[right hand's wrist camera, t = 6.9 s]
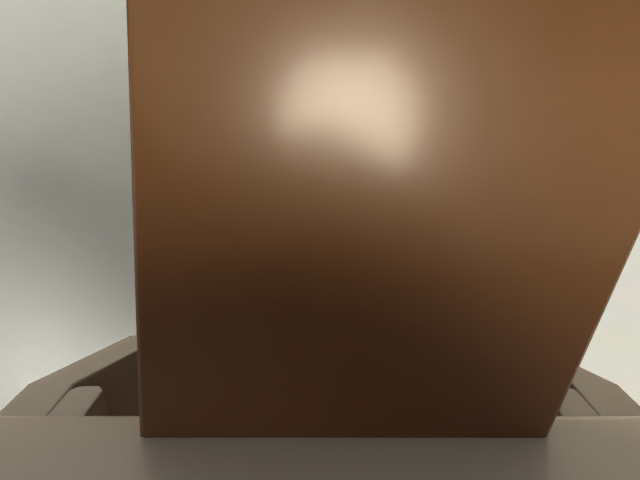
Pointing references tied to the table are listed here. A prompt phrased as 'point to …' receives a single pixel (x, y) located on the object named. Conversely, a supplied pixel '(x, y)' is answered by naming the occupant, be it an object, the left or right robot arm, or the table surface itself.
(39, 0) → the table surface
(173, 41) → the bar
